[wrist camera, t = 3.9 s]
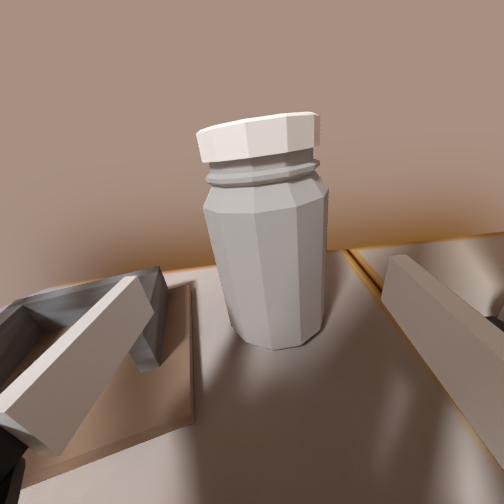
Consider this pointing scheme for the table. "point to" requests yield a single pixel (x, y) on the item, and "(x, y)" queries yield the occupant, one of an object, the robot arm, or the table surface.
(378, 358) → the table surface
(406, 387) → the table surface
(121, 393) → the mounting board
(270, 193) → the jar
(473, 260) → the table surface
